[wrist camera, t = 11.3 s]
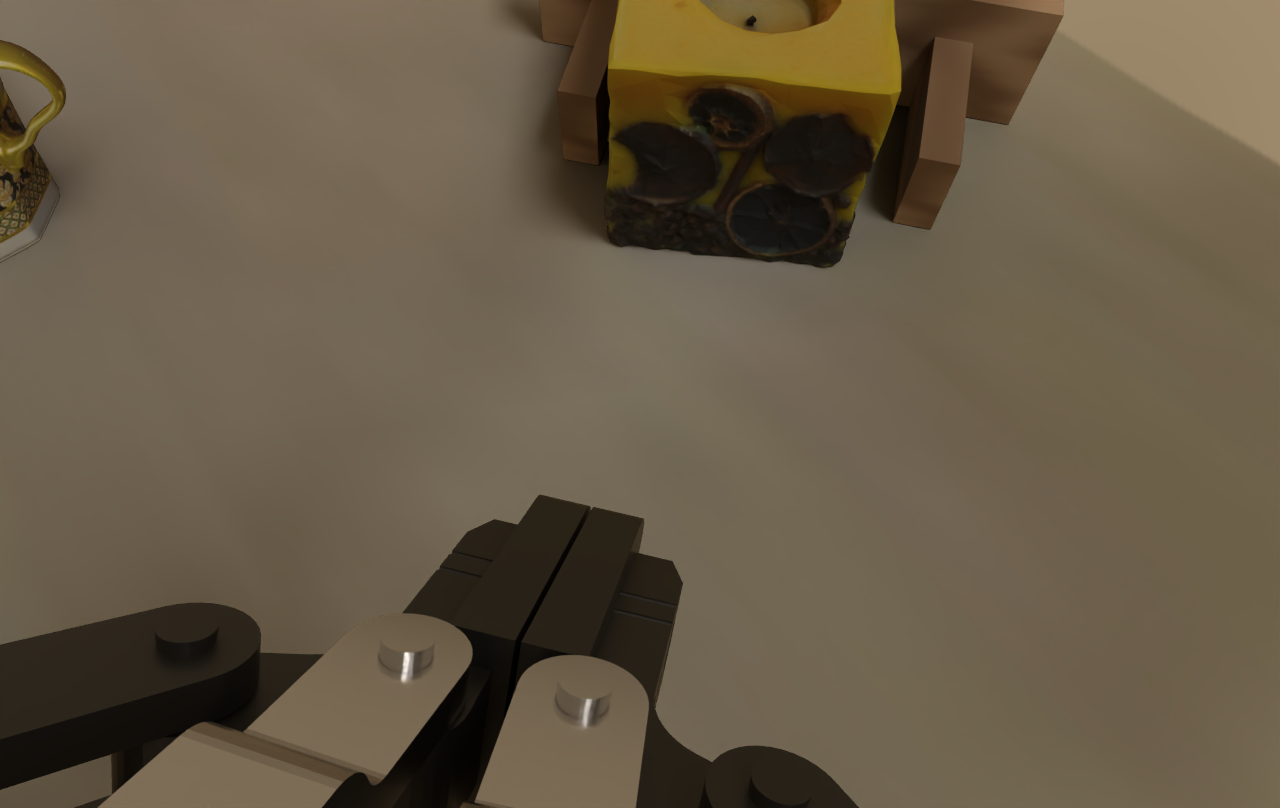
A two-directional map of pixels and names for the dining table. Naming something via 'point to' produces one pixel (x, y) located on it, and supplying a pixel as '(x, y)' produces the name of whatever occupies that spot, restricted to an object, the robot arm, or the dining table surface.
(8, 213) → the ceramic cup
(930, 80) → the brown rectangular block structure
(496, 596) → the robot arm
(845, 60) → the candle
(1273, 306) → the dining table surface
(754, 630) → the dining table surface
